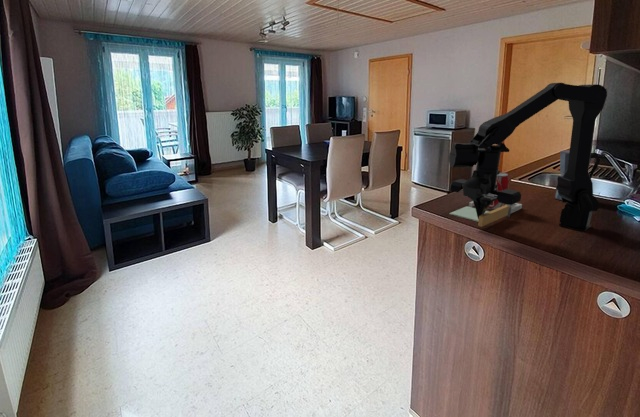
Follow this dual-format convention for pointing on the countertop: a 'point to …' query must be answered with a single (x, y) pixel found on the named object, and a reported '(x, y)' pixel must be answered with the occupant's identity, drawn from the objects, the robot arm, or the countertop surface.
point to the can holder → (511, 208)
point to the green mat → (467, 213)
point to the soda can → (500, 189)
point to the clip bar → (493, 215)
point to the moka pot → (564, 165)
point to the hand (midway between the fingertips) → (479, 218)
